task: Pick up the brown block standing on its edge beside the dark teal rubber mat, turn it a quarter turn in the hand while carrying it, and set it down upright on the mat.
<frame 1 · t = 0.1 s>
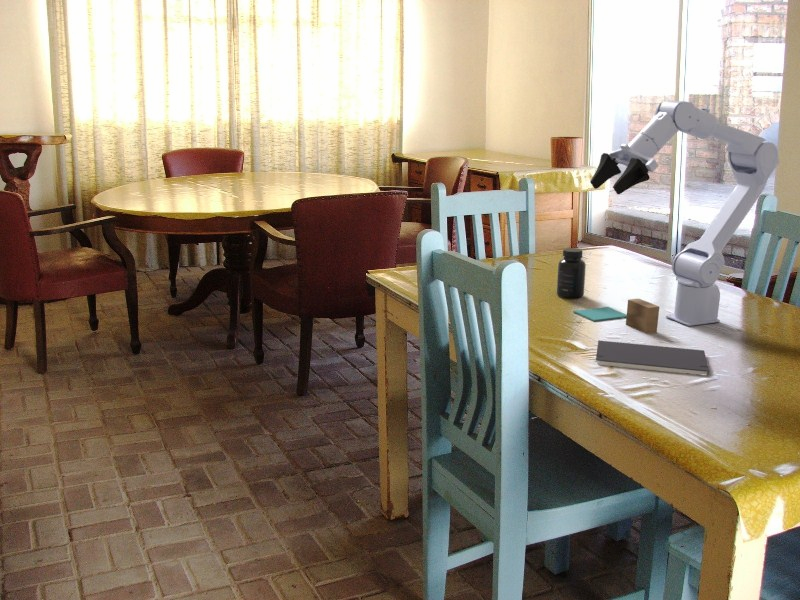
hand: (604, 188, 181), 32 cm above the table, tool tilted 50°, fingers open, 7 cm apart
notebook: (650, 363, 174), on the table
teal mat: (601, 314, 203), on the table
supplement bottle: (569, 296, 220), on the table
brown block: (640, 328, 194), on the table
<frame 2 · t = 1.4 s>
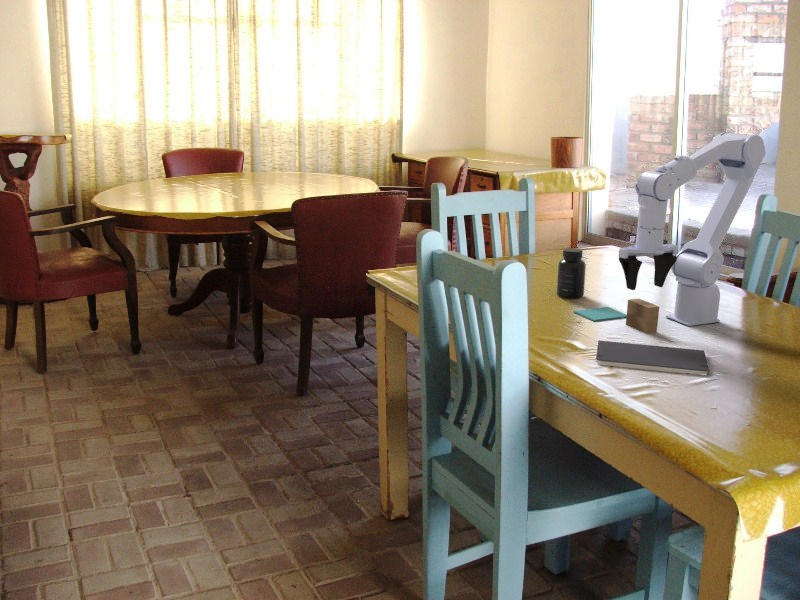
hand: (644, 287, 191), 9 cm above the table, tool pointing down, fingers open, 7 cm apart
nothing on the table moved.
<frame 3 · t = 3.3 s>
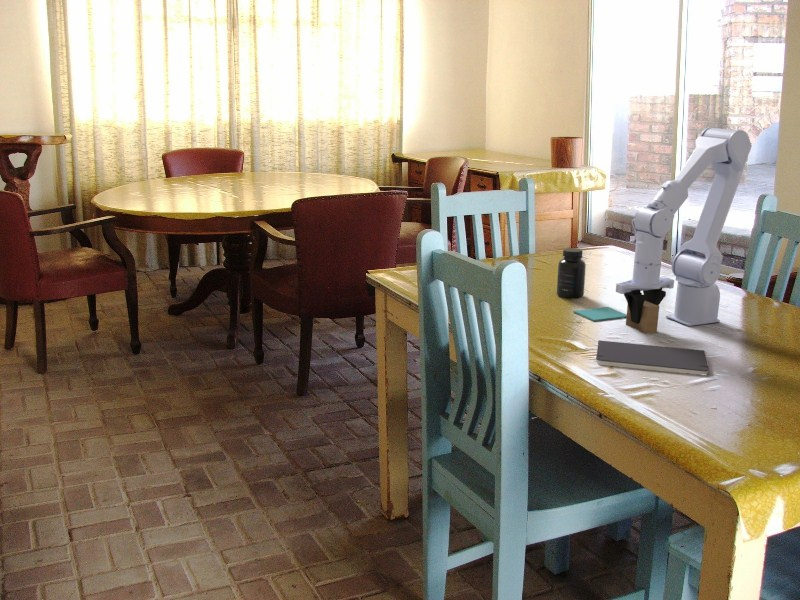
hand: (641, 321, 193), 2 cm above the table, tool pointing down, fingers closed on brown block, 3 cm apart
brown block: (640, 328, 194), on the table, touching gripper
everything else where it was.
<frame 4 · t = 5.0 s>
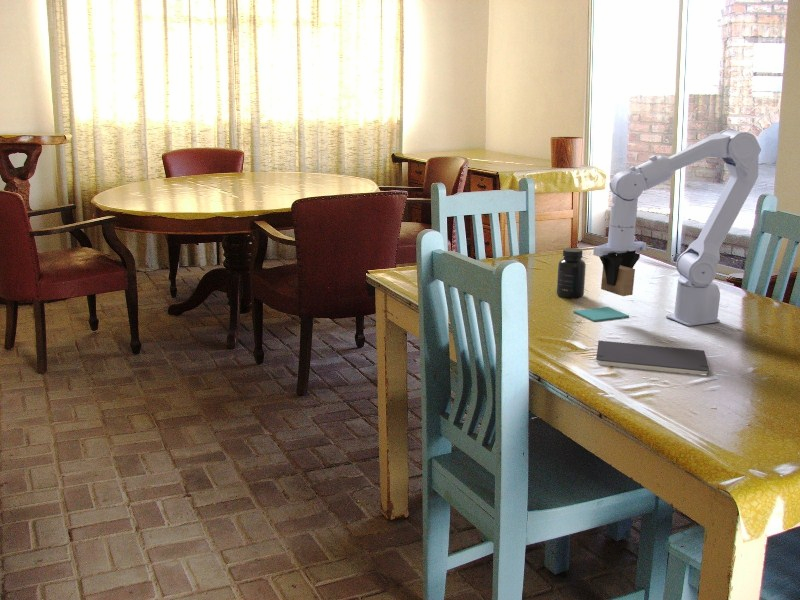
hand: (616, 283, 198), 8 cm above the table, tool pointing down, fingers closed on brown block, 3 cm apart
brown block: (616, 291, 198), point 7 cm above the table, touching gripper
everything else where it was.
when the fingers open (3 cm above the table, at t = 7.0 s): brown block stays where it is, resting on teal mat.
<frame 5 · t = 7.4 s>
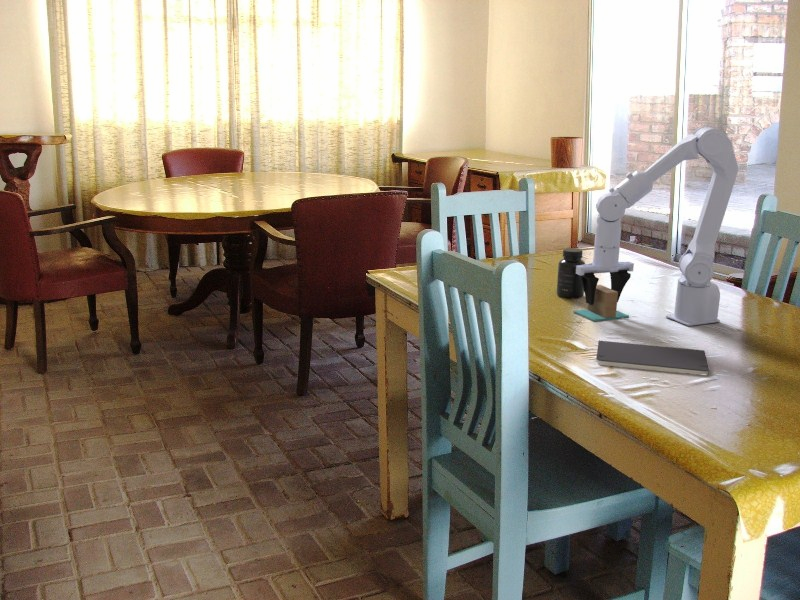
hand: (602, 302, 203), 3 cm above the table, tool pointing down, fingers open, 6 cm apart
brown block: (601, 313, 203), resting on teal mat
everything else where it was.
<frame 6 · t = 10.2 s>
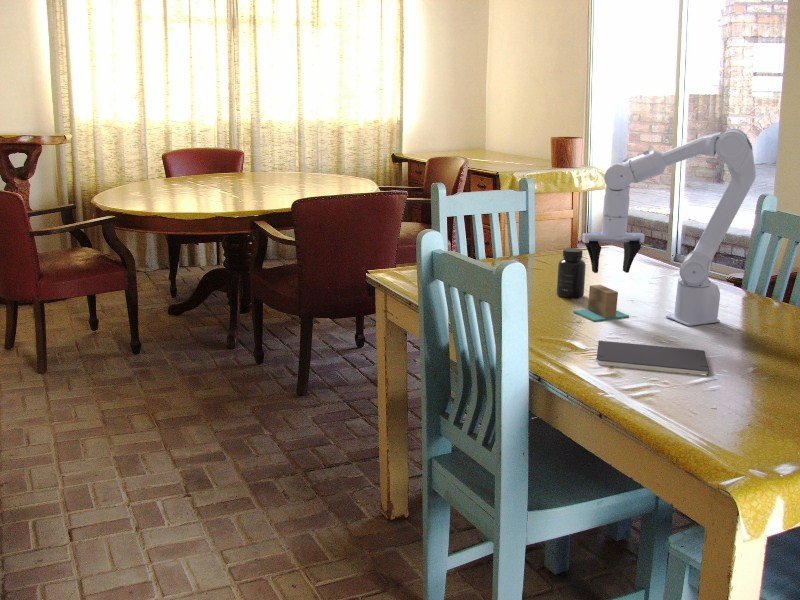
hand: (610, 271, 205), 9 cm above the table, tool pointing down, fingers open, 7 cm apart
nothing on the table moved.
at the end: brown block 0.2 cm off-centre on the teal mat, point 0.4 cm above the teal mat's base; brown block tilted 0°; the gripper is holding nothing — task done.
